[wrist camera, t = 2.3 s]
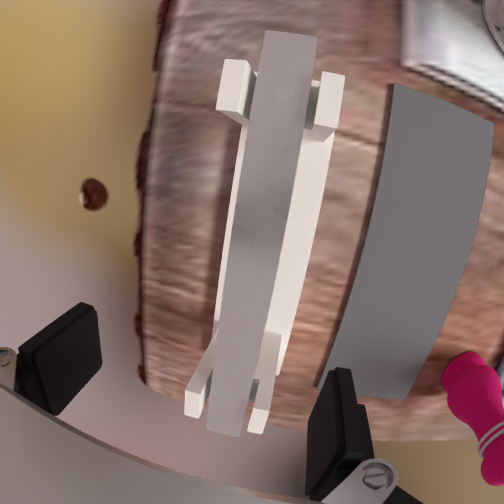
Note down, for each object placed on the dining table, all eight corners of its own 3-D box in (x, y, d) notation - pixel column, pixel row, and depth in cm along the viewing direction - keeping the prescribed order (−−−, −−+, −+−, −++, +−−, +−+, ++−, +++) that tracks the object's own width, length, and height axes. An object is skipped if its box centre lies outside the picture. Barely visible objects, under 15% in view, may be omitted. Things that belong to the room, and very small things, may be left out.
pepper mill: (427, 384, 31) (472, 512, 12) (462, 341, 29) (535, 463, 10) (460, 396, 31) (506, 506, 12) (492, 356, 29) (558, 461, 10)
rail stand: (254, 75, 25) (219, 21, 13) (339, 89, 24) (364, 40, 12) (212, 352, 34) (175, 428, 23) (279, 367, 34) (265, 452, 22)
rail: (270, 44, 16) (265, 29, 14) (316, 51, 16) (317, 37, 14) (213, 410, 26) (205, 429, 23) (244, 418, 25) (239, 437, 23)
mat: (393, 84, 23) (394, 83, 23) (492, 124, 22) (494, 123, 21) (316, 387, 34) (316, 389, 33) (403, 397, 32) (404, 399, 32)
